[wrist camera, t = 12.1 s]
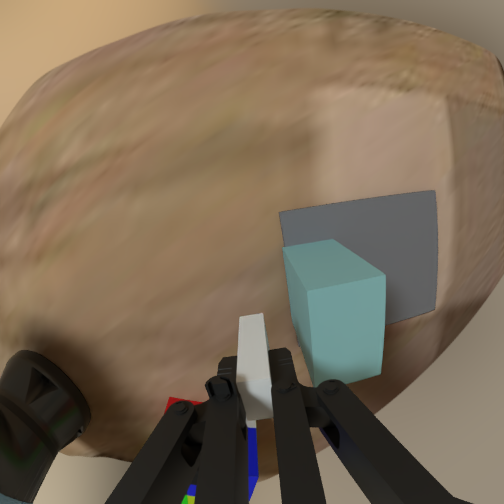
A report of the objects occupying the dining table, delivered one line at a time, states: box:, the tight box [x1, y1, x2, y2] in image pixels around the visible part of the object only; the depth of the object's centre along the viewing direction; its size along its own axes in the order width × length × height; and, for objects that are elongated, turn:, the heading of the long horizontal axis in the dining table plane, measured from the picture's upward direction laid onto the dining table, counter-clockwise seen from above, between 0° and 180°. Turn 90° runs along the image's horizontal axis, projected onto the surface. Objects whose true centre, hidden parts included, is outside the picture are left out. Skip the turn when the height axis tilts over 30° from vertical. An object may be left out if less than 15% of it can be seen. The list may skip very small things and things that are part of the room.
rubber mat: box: [279, 190, 438, 347], centre depth 25 cm, size 16×13×1 cm
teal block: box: [282, 239, 386, 387], centre depth 20 cm, size 4×7×10 cm, turn 9°
